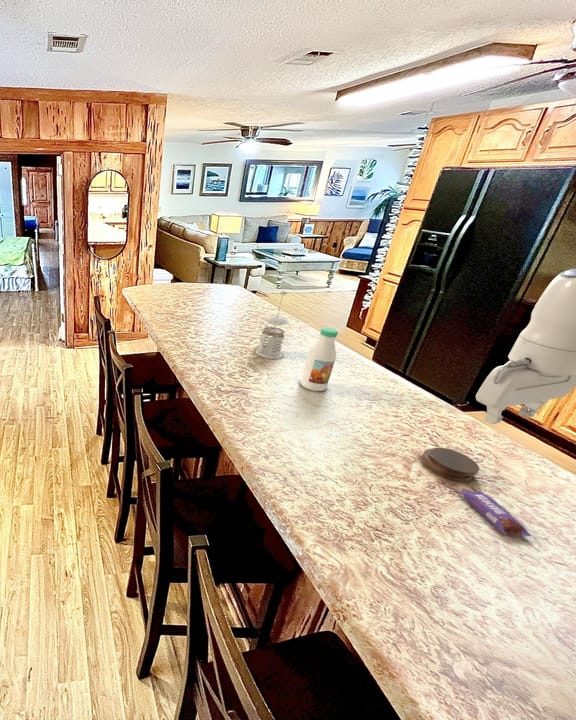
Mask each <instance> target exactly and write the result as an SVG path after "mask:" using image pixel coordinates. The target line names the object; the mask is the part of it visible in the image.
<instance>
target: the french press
mask: <svg viewBox="0 0 576 720" xmlns="http://www.w3.org/2000/svg"><path fill="white" fill-rule="evenodd" d="M279 294H280V295H282V296H281V299H280V303H279V307H278V313H277V315H269V316H266V317H265V318H264V321H265V322H266V323H268V324H270V325H274V327H273V326H269V325H265V326H264V328H263V329H262V330H261V333H260V342H259V347H258V348H257V349H256V350H255V353H256V355H258V356H260V357H262V358H265V359H270V360H278V359H282V357H283V354H282V352H281V350H282V346H283V342H284V339H285V330H284V329H282V328H279V327H276V326H285V325H287V324H289V321H288V319H287V318H285V317H284V316H281V315H279V313H280V309H281V305H282V301H283V297H284V296H286V294H287V292H286V291H285V290H282V291H280V292H279Z"/></svg>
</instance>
